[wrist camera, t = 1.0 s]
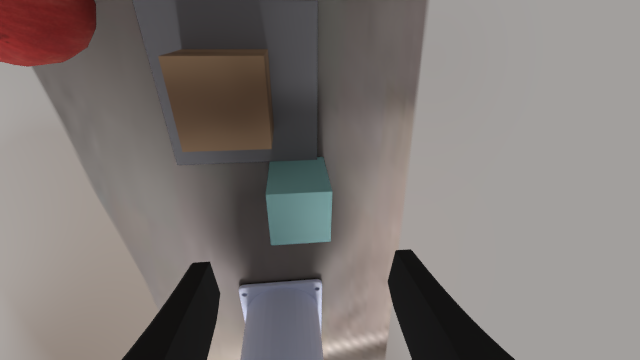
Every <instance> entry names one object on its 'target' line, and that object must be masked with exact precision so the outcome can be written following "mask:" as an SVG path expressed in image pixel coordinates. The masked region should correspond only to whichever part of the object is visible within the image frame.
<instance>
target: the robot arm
mask: <svg viewBox="0 0 640 360" xmlns="http://www.w3.org/2000/svg"><path fill="white" fill-rule="evenodd" d="M388 285H389V290H390V294H391V298H392V302H393V306H394V309H395V312H396V315H397V318H398V321H399V324H400V327H401V330H402V332H403V335H404V338H405V341H406V344H407V346H408V349H409V352H410V355H411V357H412V360H515V359H514V358H513V357H511V356H510V355H509V354H508V353H507V352H506V351H505V350H504V349H502V348H501V347H500V346H499V345H498V344H497V343H496V342H495V341H494V340H493V339H492V338H491V337H490V336H488V335H487V334H486V333H485V332H484V331H483V330H482V329H481V328H480V327H479V326H478V325H477V324H476V323H475V322H474V321H473V320H472V319H471V318H470V317H469V316H468V315H467V314H466V313H465V311H463V309H462V308H461V307H460V306H459V305H458V304H457V303H456V302H455V301H454V300H453V298H452V297H451V296H450V295H449V294H448V293H447V292H446V291H445V290H444V288H443V287H442V286H441V285H440V284H439V283H438V282H437V280H436V279H435V278H434V277H433V276H432V274H431V273H430V272H429V271H428V270H427V268H426V267H425V266H424V265H423V264H422V262H421V261H420V260H419V259H418V258H417V256H416V255H415V254H414V252H413V251H412V250H396V251H395V255H394V259H393V263H392V267H391V271H390V275H389V279H388ZM316 287H317V288H316ZM239 295H240V300H241V305H242V310H243V315H244V320H245V330H244V338H243V345H242V352H241V360H324V359H323V350H322V341H321V323H322V281H321V280H319V279H312V280H299V281H286V282H273V283H260V284H247V285H241V286H240V287H239ZM219 299H220V291H219V288H218V285H217V282H216V279H215V276H214V273H213V270H212V267H211V264H210V262H198V263H192V264H191V266H190V267H189V269H188V270H187V272H186V273H185V275H184V276H183V278H182V279H181V281H180V282H179V284H178V285H177V287H176V288H175V290H174V291H173V293H172V294H171V296H170V297H169V298H168V300H167V301H166V303H165V304H164V305H163V307H162V308H161V310H160V311H159V312H158V314H157V315H156V317H155V318H154V319H153V321H152V322H151V323H150V325H149V326H148V327H147V329H146V330H145V331H144V332H143V334H142V335H141V336H140V337H139V339H138V340H137V341H136V343H135V344H134V345H133V346H132V348H131V349H130V350H129V352H128V353H127V354H126V355H125V356H124V357H123V359H122V360H207V357H208V353H209V349H210V345H211V341H212V337H213V333H214V329H215V325H216V321H217V314H218V307H219Z"/></svg>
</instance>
